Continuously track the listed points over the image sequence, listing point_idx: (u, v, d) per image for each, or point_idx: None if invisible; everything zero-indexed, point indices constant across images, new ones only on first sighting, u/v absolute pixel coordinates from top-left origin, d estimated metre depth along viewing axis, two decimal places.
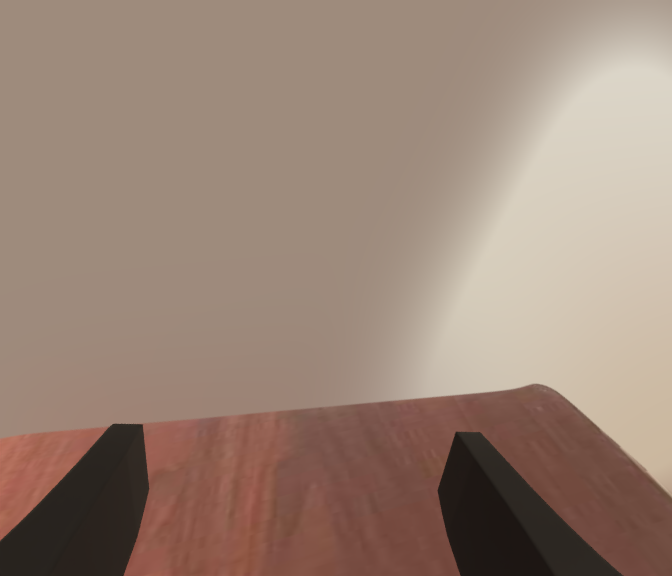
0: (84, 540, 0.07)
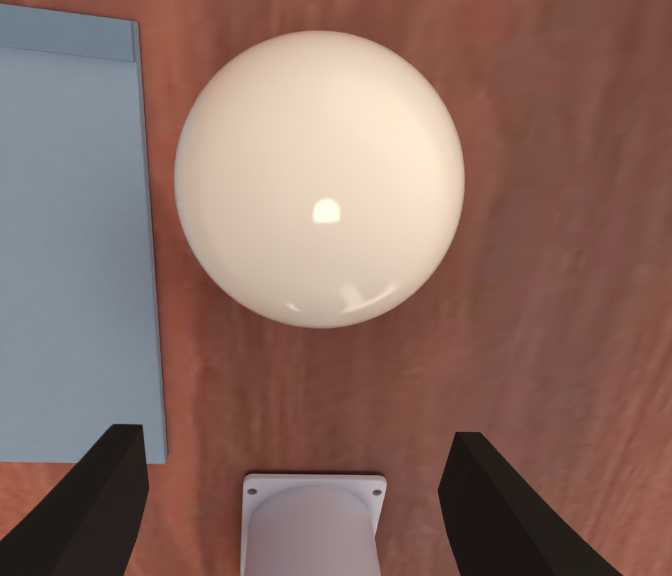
0: (84, 540, 0.07)
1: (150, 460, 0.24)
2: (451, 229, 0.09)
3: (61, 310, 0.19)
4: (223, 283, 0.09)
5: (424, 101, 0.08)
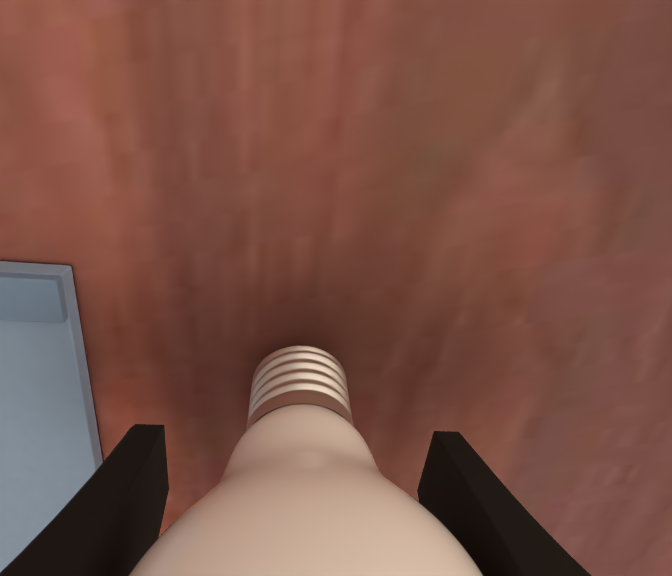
0: (113, 539, 0.07)
1: None
2: None
3: None
4: None
5: None
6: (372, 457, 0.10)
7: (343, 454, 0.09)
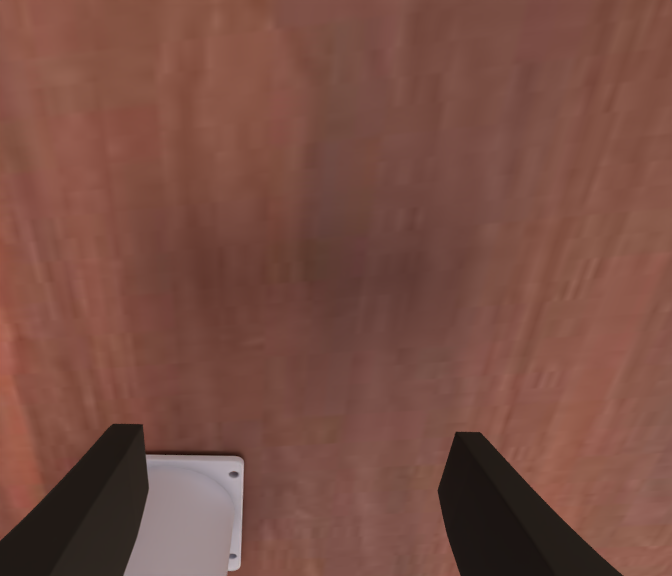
0: (84, 539, 0.07)
1: None
2: None
3: None
4: None
5: None
6: None
7: None
